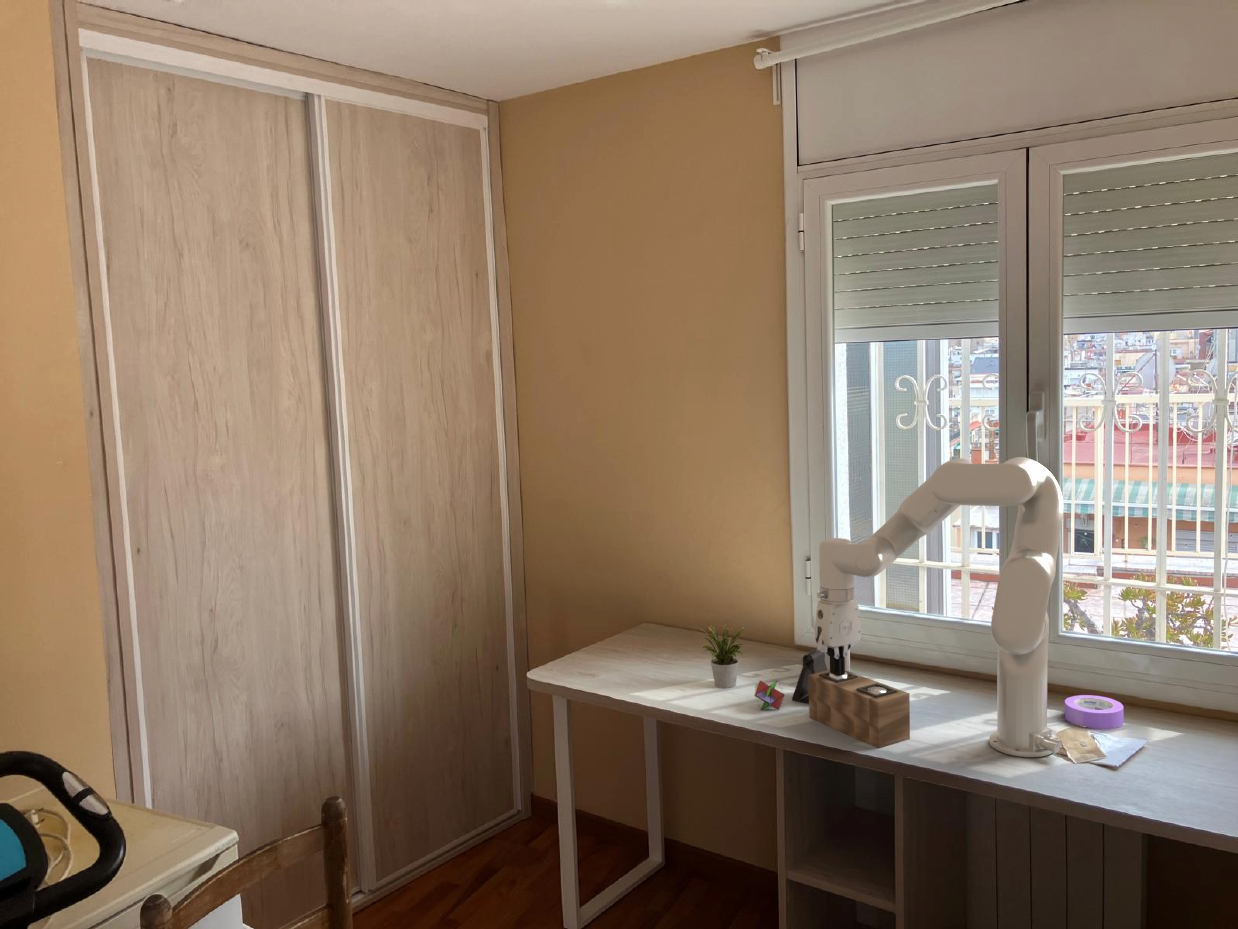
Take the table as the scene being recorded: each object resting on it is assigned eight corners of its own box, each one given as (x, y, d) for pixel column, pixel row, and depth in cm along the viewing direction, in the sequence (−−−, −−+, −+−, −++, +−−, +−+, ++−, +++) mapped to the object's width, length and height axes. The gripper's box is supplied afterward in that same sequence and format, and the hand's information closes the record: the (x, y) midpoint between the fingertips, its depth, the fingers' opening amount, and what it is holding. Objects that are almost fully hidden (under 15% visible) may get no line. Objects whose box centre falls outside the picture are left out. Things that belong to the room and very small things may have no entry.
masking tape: (1054, 720, 219) (1055, 703, 218) (1079, 707, 226) (1079, 690, 226) (1108, 734, 210) (1109, 717, 209) (1132, 720, 217) (1132, 703, 217)
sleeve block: (909, 738, 211) (909, 691, 210) (878, 748, 207) (878, 700, 206) (839, 709, 230) (838, 665, 229) (809, 717, 226) (808, 673, 225)
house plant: (687, 693, 245) (685, 629, 243) (696, 675, 259) (694, 614, 257) (745, 696, 242) (743, 630, 240) (751, 678, 255) (749, 616, 253)
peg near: (890, 731, 212) (890, 690, 211) (877, 735, 210) (876, 694, 210) (877, 725, 216) (877, 685, 215) (863, 729, 214) (863, 689, 213)
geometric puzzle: (796, 698, 232) (777, 669, 234) (783, 707, 227) (764, 677, 229) (774, 712, 236) (755, 683, 238) (761, 721, 230) (742, 691, 233)
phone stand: (791, 700, 237) (790, 652, 236) (803, 693, 242) (802, 645, 241) (826, 707, 232) (825, 657, 231) (837, 700, 237) (836, 651, 235)
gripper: (822, 602, 214) (823, 684, 216) (873, 592, 221) (873, 672, 223) (799, 595, 220) (800, 675, 222) (850, 586, 228) (850, 663, 230)
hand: (837, 673), depth 223 cm, fingers closed
